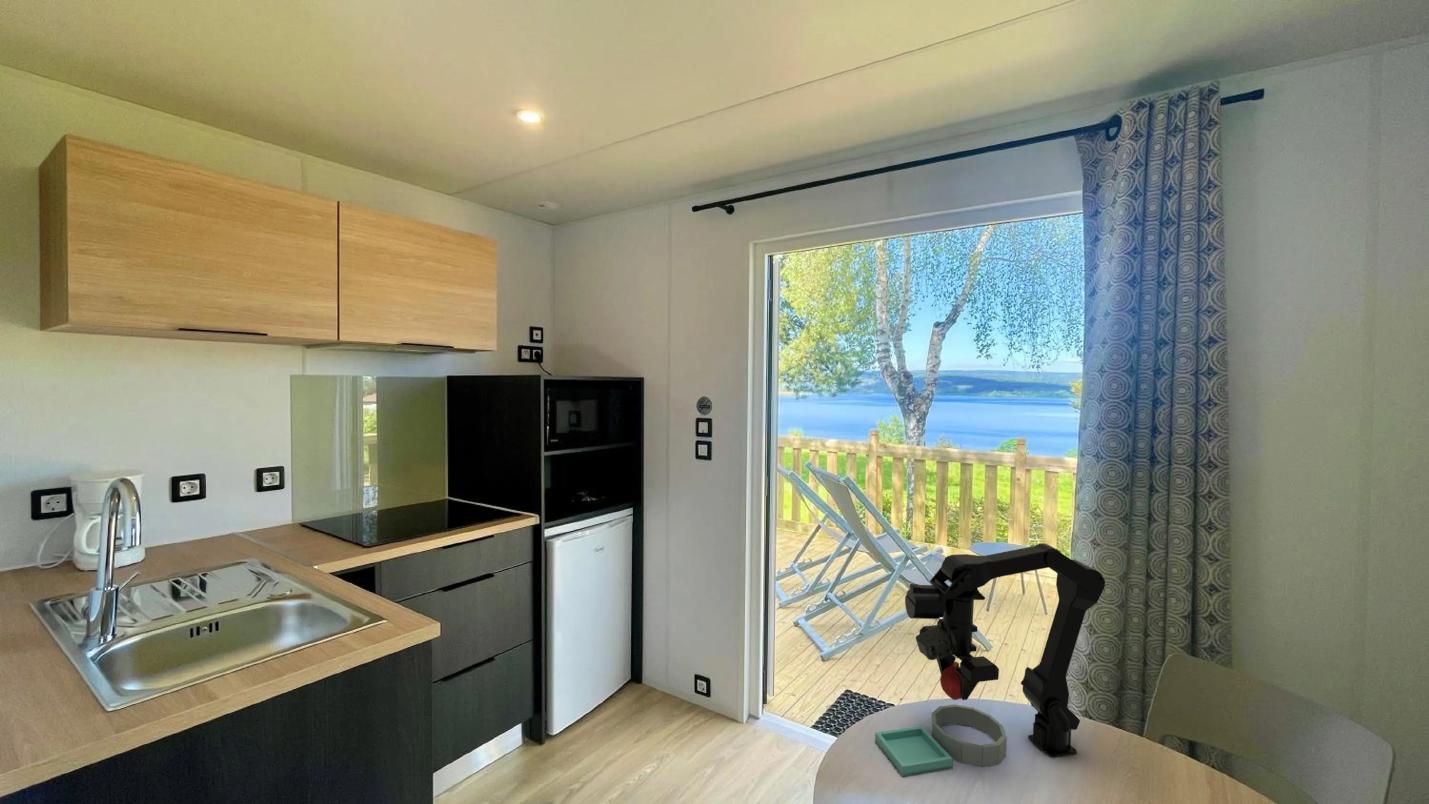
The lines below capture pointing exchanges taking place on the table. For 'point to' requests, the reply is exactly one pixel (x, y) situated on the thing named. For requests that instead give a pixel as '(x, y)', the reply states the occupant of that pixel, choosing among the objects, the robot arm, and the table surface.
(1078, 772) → the table surface
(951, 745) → the ring
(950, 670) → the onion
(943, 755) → the tray
